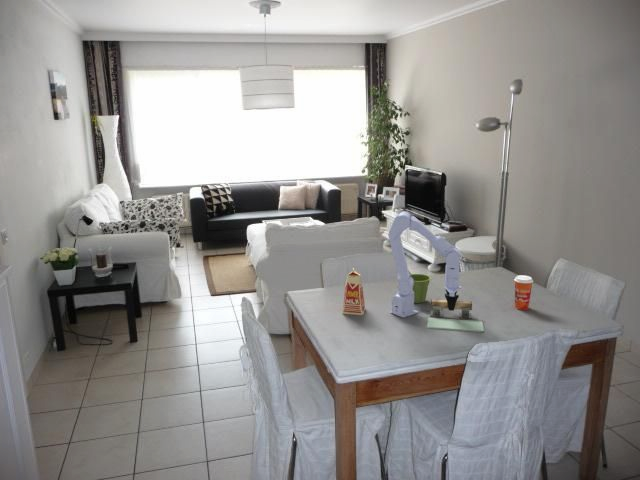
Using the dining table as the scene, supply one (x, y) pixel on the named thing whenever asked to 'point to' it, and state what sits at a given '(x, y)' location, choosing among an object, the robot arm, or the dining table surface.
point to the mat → (455, 324)
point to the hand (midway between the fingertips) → (451, 307)
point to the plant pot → (420, 287)
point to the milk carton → (354, 295)
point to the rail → (457, 306)
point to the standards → (463, 315)
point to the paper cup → (522, 291)
